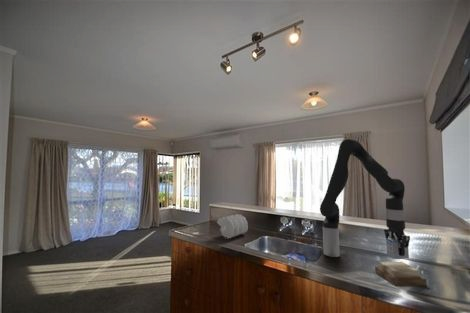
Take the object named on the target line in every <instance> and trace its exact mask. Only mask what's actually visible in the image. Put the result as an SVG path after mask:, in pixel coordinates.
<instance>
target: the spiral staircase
mask: <svg viewBox="0 0 470 313" xmlns="http://www.w3.org/2000/svg"><path fill="white" fill-rule="evenodd" d="M216 223H217V224H218V225H219V226H220V229H219V230H220V232H221V236H223V237H224V238H225V237H227V238H226V239H229V238H230V239H232V238H233V237H234V238H235V237H236V236H241V234H243V235H244V234H245V233H246V232H248V229H249V226H248V225H249V224H248V220H247V218H246V217H245V216H243V214H239V213H236V214H234V215H233V214H231V215H227V216H222V217H221V218H218V219H217V221H216Z"/></svg>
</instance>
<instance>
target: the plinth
mask: <svg viewBox="0 0 470 313" xmlns="http://www.w3.org/2000/svg"><path fill="white" fill-rule="evenodd" d="M374 270H375V272H374V273H376V274H377V275H379V276H381V277H382V278H383V279H385V280H386V281H388V282H390V283H391V284H392V285H394V286H396V287H427V285H428V284H427V279H426V278H425V277H422V276H421V274H420V271H421V270H420V269H418V268H416V267H413V266H411V265H410V264H407V263H406V262H403V261H379V266H377V265H376V266H375V267H374Z"/></svg>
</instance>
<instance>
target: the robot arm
mask: <svg viewBox="0 0 470 313" xmlns="http://www.w3.org/2000/svg"><path fill="white" fill-rule="evenodd" d="M351 155H352V156H354V157H355V158H356V159H357V160H359V161H360V162H361V164H362V165H363V167H364V169H365V170H366V171H367V172H368V174H369V175H371V177H372V178H374V179H375V181H376V183H377V184H378V186H380V188H381V189H382V190H383V191H385V192H387V193H388V194H389V195H388V197H386V198H385V223H386V227H387V228H388V229H387V228H386V229H383V231H384V236H385V239H386V238H393V239H396V241H397V243H398V246H399V247H398V248H399V255H400V256H404V255H405V249H404V248H408V249H409V245H410V240H411V236H410V235H406V234H405V229H406V222H405V221H406V219H405V212H404V211H405V210H404V202H403V201H404V197H405V187H406V186H405V184H404V182H403V181H402V180H401V179H400V178H392V177H391V176H390V175H389V171H388V170H387V169H386V167H385V168H384V167H383V165H381V164H380V163H379V162H378V161H377V160H375V158H373V156H371V154H370V153H369V152H368V151H367V150H366V149H365V148H364V146H363V145H362V144H361V143H360V142H359V141H358V140H355V139H351V138H345V139H343V140H342V141H341V142H340V145H339V147H338V152H337V156H336V162H335V164H334V168H333V171H332V174H331V176H330V180H329V182H328V186H327V189H326V193H325V195H324V198H323V199H322V201H321V204H320V205H319V206H320V207H319V212H320V214H321V215H322V216H323V217H325V218H324V220H323V221H322V239H323V240H322V241H323V242H322V243H323V244H322V245H323V246H322V247H323V255H325V256H328V257H330V258H338V257H340V239H339V238H340V233H339V232H340V231H339V225H340V207H339V205H338V203H336V202H337V199H338V198H339V195H340V194H341V193H342V192H343V190H344V188H346V185H347V182H348V179H349V160H350V156H351ZM399 240H401V241H399ZM400 243H402V245H401V244H400ZM405 243H406V245H405Z"/></svg>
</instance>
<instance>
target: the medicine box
mask: <svg viewBox="0 0 470 313" xmlns="http://www.w3.org/2000/svg"><path fill="white" fill-rule="evenodd" d="M399 241H401V240H399ZM385 243H386V244H385V245H386V246H385V247H386V256H388V258H391V259H393V260H398V259H399V260H402V259H403V260H405V259H406V260H407V259H410V255H409V254H410V253H409V247H408V248H404V249H405V255H404V256H400V255H399V248H398V247H399V246H398V243H397V241H396V239H393V238H389V237H388V238H386V237H385ZM400 244H401V245H402V243H400ZM405 245H406V243H405Z"/></svg>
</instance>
